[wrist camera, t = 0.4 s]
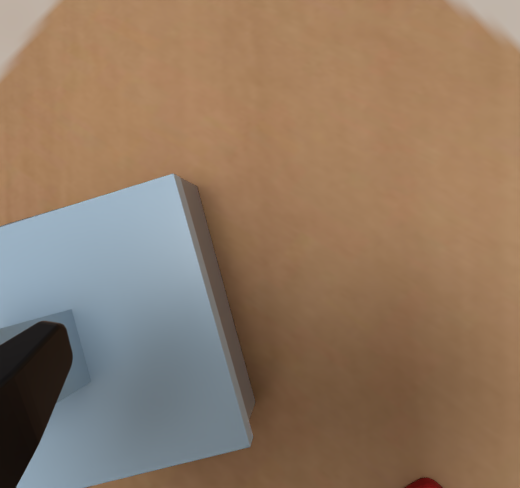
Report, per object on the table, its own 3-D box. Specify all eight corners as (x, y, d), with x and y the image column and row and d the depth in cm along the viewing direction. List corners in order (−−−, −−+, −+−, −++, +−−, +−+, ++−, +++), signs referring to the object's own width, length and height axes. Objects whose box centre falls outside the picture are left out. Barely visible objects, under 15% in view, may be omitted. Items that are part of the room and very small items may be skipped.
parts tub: (255, 402, 24) (244, 434, 20) (-4, 464, 25) (-63, 506, 21) (196, 186, 24) (173, 174, 20) (-56, 260, 25) (-124, 263, 21)
